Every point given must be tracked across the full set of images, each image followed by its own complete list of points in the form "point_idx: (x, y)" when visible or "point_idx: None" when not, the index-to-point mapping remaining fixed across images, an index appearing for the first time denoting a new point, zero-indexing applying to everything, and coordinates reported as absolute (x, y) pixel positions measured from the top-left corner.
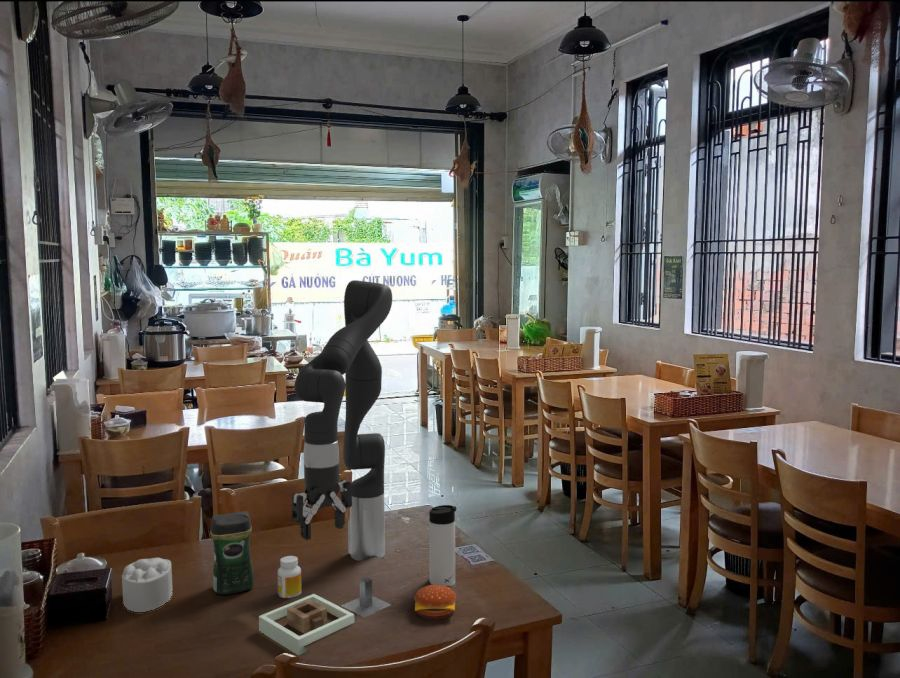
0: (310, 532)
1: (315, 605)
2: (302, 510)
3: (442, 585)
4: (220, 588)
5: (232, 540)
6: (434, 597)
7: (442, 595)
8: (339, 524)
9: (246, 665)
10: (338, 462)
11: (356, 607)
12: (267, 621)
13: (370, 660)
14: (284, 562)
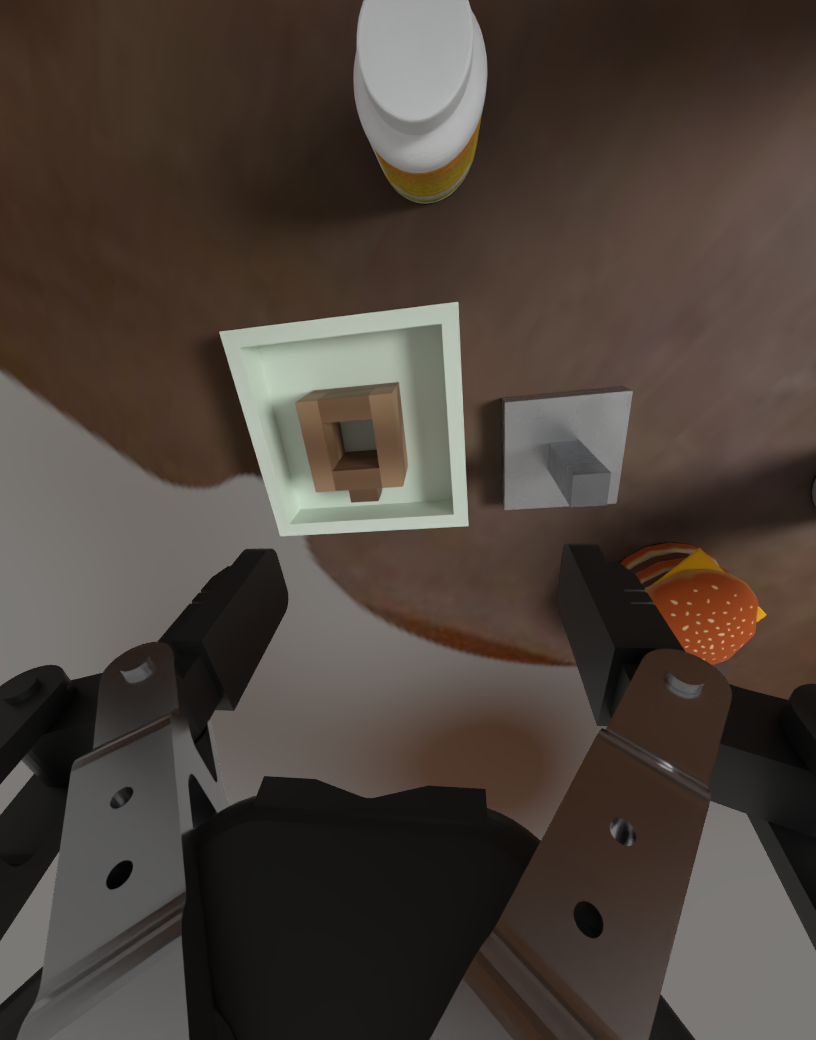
0: (265, 644)
1: (384, 446)
2: (20, 900)
3: (746, 628)
4: None
5: None
6: None
7: None
8: (567, 617)
9: (176, 473)
10: None
11: (531, 448)
12: (236, 388)
13: (411, 620)
14: (366, 87)
